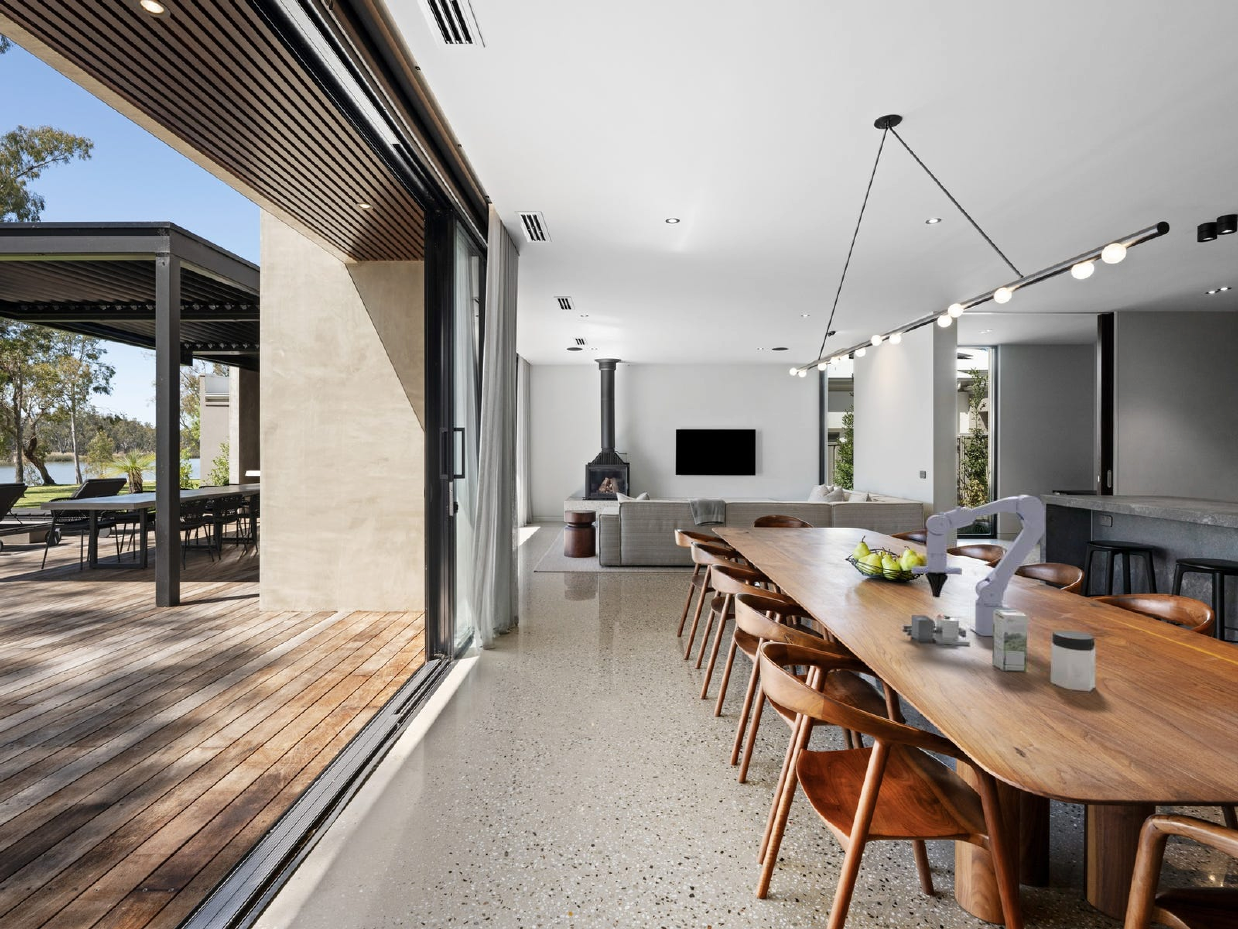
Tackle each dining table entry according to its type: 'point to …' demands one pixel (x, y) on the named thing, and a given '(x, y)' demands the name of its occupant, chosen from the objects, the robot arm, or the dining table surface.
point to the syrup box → (1010, 640)
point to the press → (931, 632)
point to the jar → (1073, 660)
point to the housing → (947, 627)
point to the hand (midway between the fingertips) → (936, 596)
